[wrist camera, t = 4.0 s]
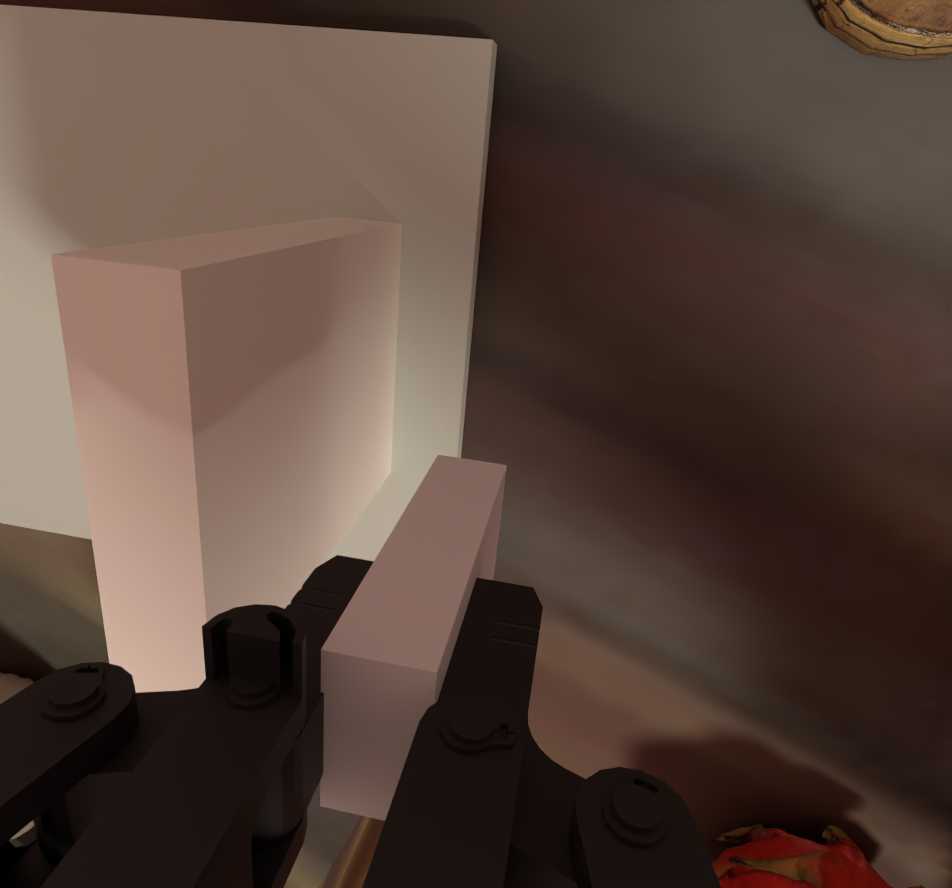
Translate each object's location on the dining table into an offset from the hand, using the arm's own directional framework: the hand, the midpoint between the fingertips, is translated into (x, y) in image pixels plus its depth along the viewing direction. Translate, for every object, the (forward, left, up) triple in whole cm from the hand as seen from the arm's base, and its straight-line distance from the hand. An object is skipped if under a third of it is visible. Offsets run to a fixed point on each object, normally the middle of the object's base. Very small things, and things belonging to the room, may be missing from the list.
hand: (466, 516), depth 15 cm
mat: (+14, 0, -13) cm, 19 cm away
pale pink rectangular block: (+6, 0, -12) cm, 14 cm away
